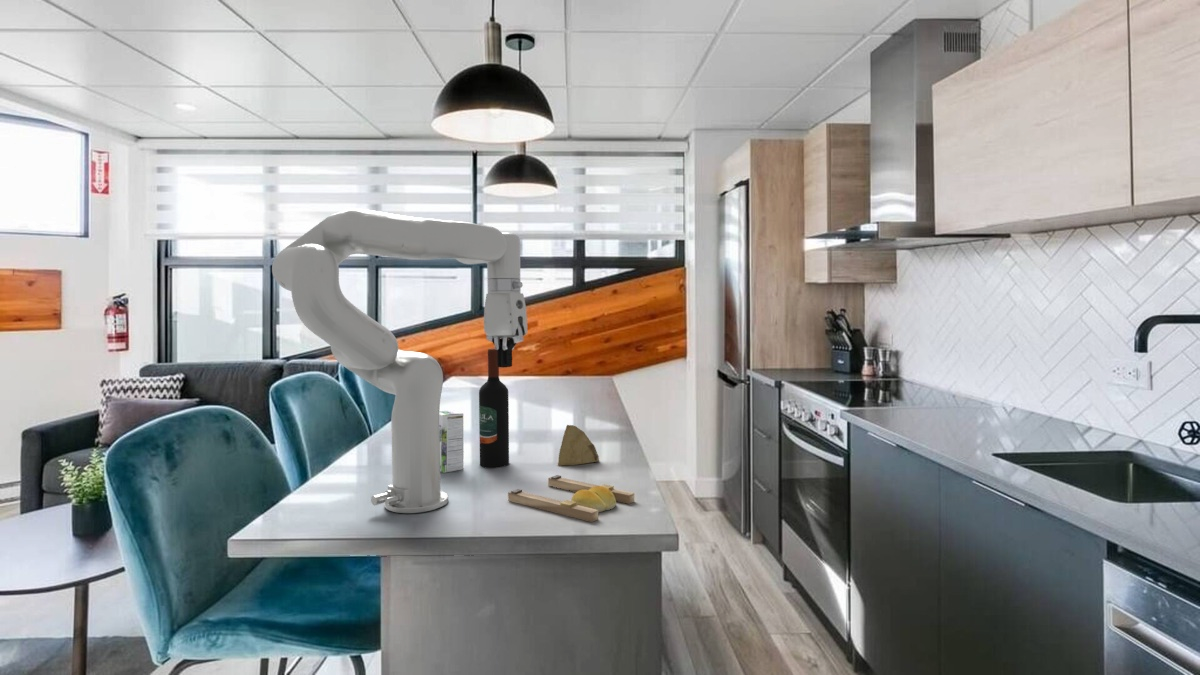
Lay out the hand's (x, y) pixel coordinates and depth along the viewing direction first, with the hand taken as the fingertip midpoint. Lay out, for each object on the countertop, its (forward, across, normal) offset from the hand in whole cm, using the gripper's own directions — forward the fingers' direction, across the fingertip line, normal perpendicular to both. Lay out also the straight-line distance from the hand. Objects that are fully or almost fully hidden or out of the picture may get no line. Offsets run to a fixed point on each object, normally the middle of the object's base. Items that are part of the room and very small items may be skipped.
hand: (504, 366), depth 139 cm
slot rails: (+27, -21, +2) cm, 34 cm away
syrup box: (+27, +20, 0) cm, 34 cm away
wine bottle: (+27, +14, -10) cm, 32 cm away
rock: (+27, -3, -24) cm, 36 cm away
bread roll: (+28, -27, +2) cm, 39 cm away
